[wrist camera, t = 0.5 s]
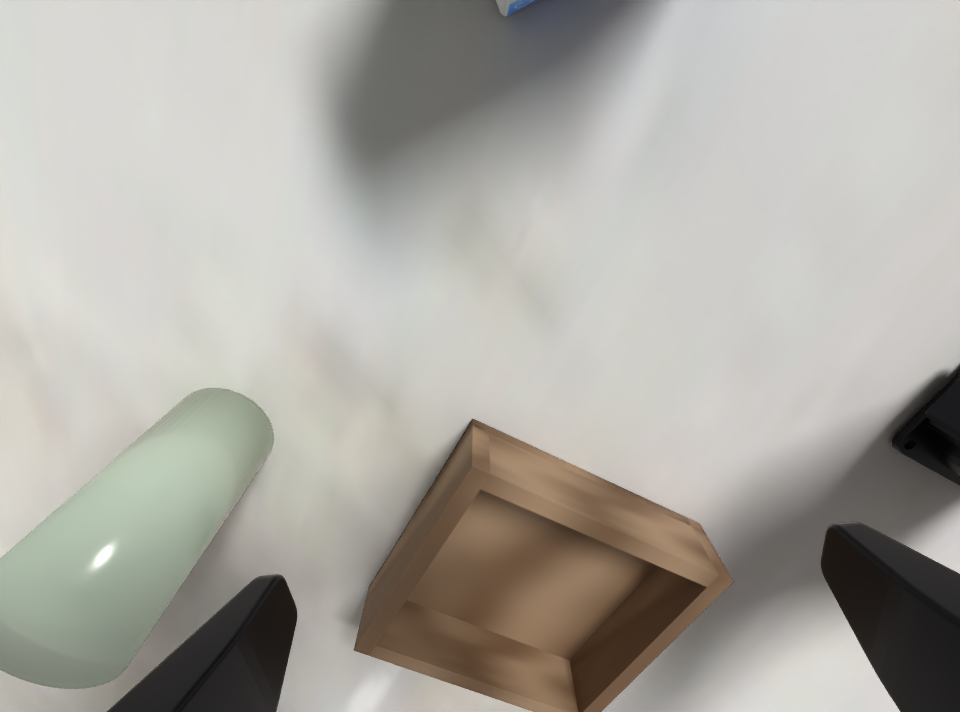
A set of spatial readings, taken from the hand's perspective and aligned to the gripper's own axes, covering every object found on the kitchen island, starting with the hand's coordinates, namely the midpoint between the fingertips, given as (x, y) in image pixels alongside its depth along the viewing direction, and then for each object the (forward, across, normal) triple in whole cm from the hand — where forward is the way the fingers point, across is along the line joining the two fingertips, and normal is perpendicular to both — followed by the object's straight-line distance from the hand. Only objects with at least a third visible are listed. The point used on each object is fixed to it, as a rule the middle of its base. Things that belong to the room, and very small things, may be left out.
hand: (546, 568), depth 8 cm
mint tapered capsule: (+13, +14, +4) cm, 19 cm away
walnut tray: (+13, +1, +13) cm, 18 cm away
